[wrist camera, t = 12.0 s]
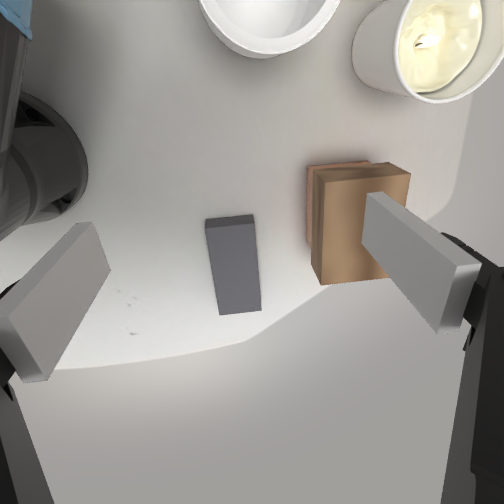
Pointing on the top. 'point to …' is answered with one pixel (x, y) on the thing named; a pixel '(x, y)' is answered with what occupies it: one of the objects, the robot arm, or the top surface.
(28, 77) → the top surface
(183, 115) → the top surface
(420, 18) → the candle holder
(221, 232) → the block
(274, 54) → the jar
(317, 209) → the brown wooden block
